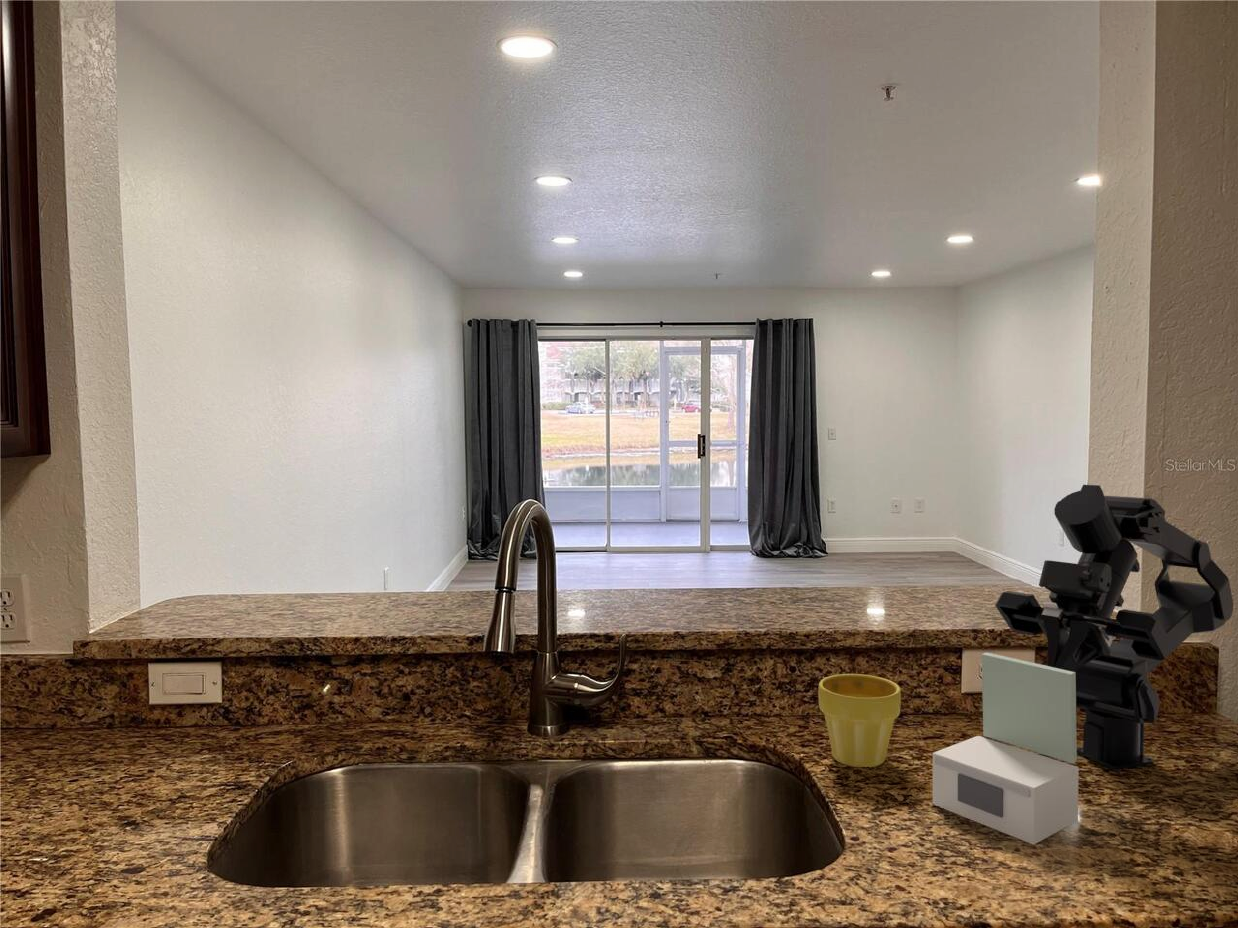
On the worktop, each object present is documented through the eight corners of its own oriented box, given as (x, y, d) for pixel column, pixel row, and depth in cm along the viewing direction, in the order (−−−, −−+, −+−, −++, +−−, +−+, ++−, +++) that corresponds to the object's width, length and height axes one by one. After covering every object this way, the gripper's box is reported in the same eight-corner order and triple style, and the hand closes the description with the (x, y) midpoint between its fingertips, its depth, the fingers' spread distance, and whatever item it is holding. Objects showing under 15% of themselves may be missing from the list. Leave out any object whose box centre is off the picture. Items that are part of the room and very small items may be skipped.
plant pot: (905, 776, 107) (905, 699, 107) (819, 771, 109) (819, 694, 109) (896, 746, 118) (896, 674, 117) (817, 741, 120) (817, 671, 119)
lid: (983, 735, 104) (991, 731, 105) (1072, 763, 95) (1080, 758, 96) (981, 654, 103) (990, 650, 104) (1070, 674, 95) (1079, 670, 96)
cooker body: (977, 784, 105) (978, 735, 105) (1077, 820, 95) (1078, 766, 95) (930, 804, 99) (931, 753, 99) (1032, 845, 90) (1032, 788, 89)
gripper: (1003, 528, 112) (953, 625, 107) (1160, 544, 97) (1111, 657, 91) (1036, 582, 117) (989, 677, 111) (1189, 604, 102) (1144, 715, 96)
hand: (1051, 680), depth 102 cm, fingers closed
